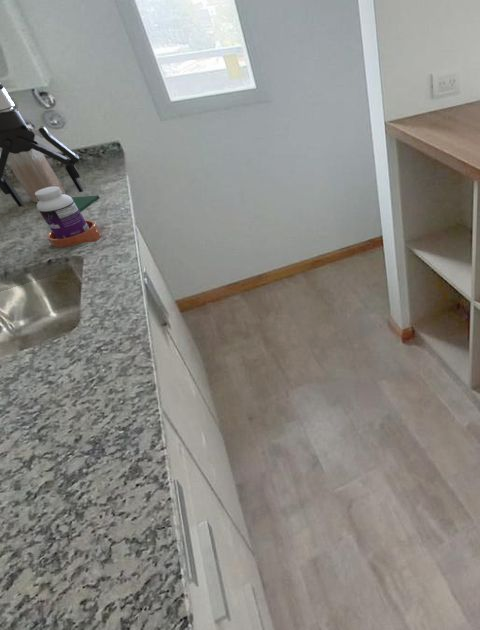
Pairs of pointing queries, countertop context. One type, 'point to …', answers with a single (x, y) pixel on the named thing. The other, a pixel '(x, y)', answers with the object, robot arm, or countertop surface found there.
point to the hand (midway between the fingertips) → (52, 197)
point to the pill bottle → (60, 213)
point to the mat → (84, 201)
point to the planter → (33, 172)
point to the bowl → (86, 236)
